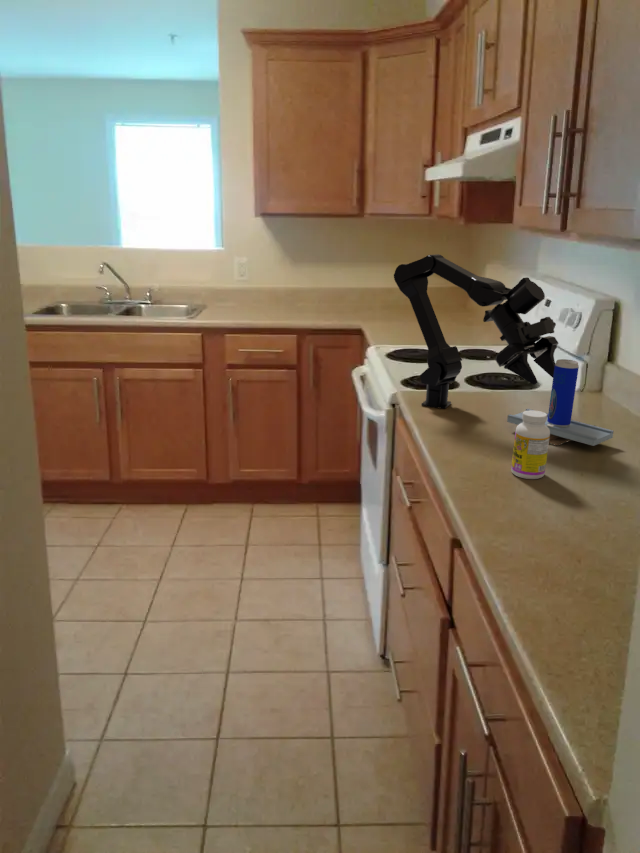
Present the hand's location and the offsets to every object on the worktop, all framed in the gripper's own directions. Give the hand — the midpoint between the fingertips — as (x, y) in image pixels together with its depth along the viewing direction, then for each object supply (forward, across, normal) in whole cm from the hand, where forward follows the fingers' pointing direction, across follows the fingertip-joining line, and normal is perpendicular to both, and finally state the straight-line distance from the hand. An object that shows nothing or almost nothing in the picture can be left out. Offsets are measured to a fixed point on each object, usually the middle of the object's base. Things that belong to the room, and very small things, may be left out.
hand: (546, 380), depth 174 cm
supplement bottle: (+18, -27, 0) cm, 32 cm away
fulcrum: (+12, 0, +6) cm, 14 cm away
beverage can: (+10, 0, +4) cm, 11 cm away
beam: (+11, 0, +4) cm, 12 cm away
